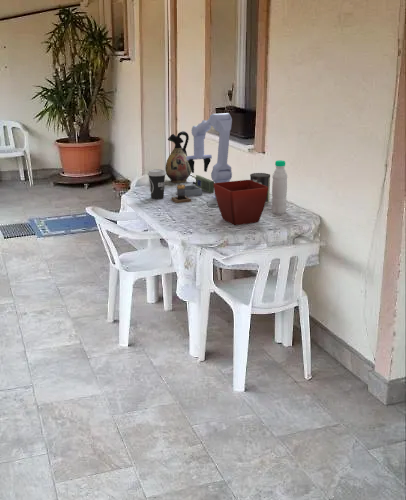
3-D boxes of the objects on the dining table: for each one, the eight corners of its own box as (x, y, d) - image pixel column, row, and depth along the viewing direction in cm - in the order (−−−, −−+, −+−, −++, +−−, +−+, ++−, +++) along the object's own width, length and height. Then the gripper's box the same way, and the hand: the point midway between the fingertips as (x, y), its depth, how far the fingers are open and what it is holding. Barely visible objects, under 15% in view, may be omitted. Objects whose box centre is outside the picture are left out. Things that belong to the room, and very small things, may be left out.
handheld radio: (209, 193, 346) (190, 185, 367) (214, 193, 347) (195, 184, 369) (209, 181, 344) (190, 173, 365) (215, 181, 345) (196, 173, 367)
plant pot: (230, 228, 277) (230, 191, 272) (212, 218, 293) (212, 182, 288) (268, 223, 284) (269, 187, 279) (249, 214, 301) (249, 179, 296)
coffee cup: (155, 201, 327) (154, 173, 322) (144, 198, 334) (143, 170, 329) (170, 198, 333) (169, 170, 328) (159, 195, 340) (158, 168, 335)
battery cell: (186, 200, 326) (186, 184, 323) (178, 201, 324) (178, 184, 322) (183, 199, 329) (183, 182, 327) (176, 199, 328) (175, 183, 325)
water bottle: (268, 211, 305) (270, 160, 298) (281, 210, 308) (283, 159, 300) (276, 214, 299) (277, 162, 291) (288, 213, 302) (290, 161, 294)
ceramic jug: (167, 184, 367) (165, 133, 358) (164, 179, 382) (163, 130, 372) (195, 183, 369) (195, 132, 360) (192, 178, 384) (191, 129, 375)
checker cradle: (192, 202, 325) (192, 199, 324) (176, 203, 321) (176, 200, 321) (186, 198, 333) (186, 195, 332) (170, 200, 329) (170, 197, 329)
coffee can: (262, 204, 318) (263, 177, 314) (245, 202, 324) (246, 175, 320) (273, 201, 326) (274, 174, 322) (256, 198, 332) (257, 172, 328)
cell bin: (202, 195, 339) (202, 189, 338) (184, 197, 336) (184, 190, 335) (194, 191, 350) (193, 185, 349) (177, 192, 346) (177, 186, 345)
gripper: (208, 146, 353) (208, 170, 357) (184, 147, 348) (184, 171, 352) (213, 147, 347) (213, 172, 351) (188, 149, 341) (188, 174, 346)
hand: (199, 172), depth 351 cm, fingers open, 7 cm apart
